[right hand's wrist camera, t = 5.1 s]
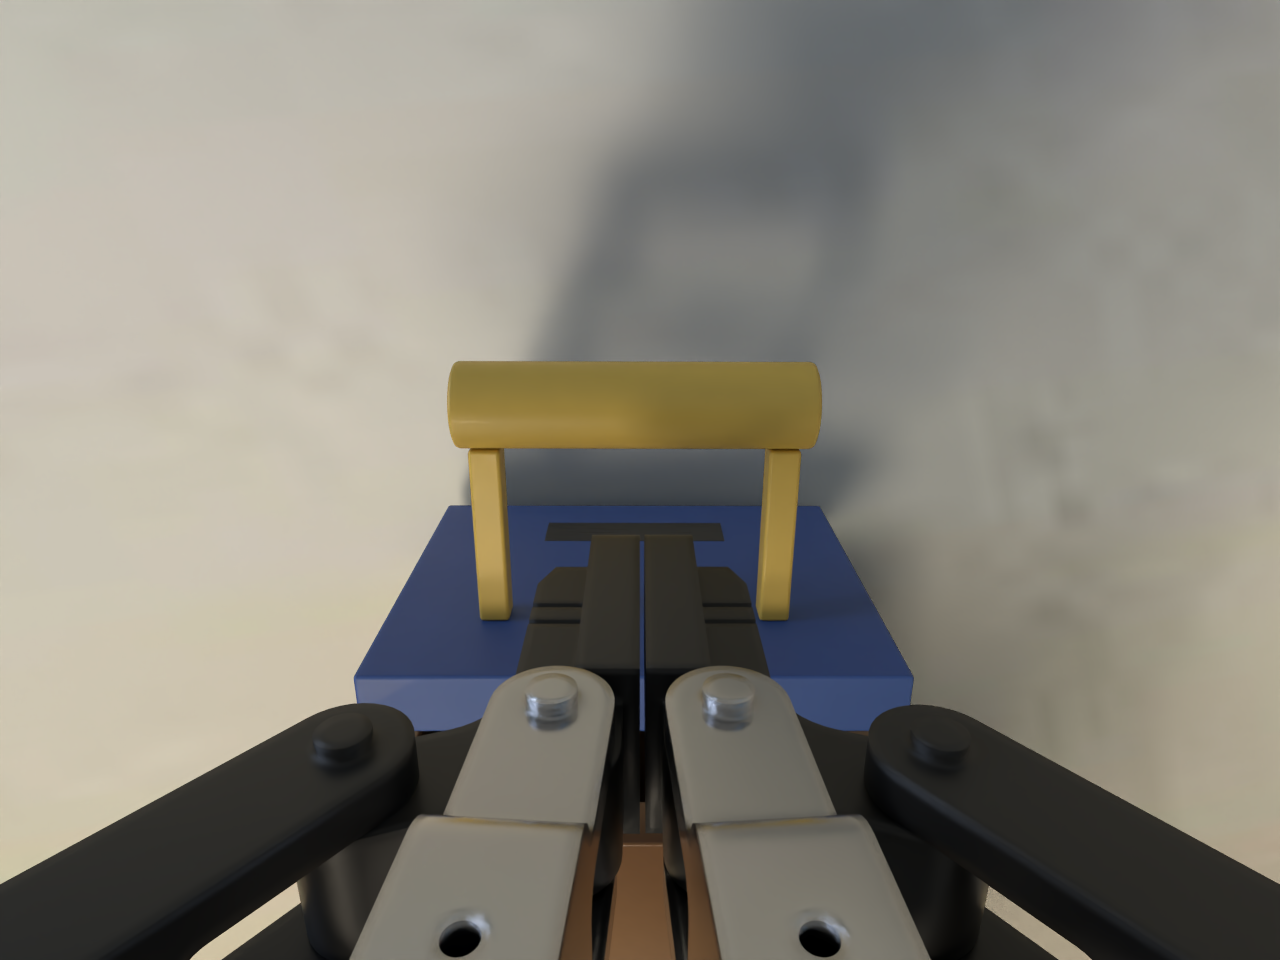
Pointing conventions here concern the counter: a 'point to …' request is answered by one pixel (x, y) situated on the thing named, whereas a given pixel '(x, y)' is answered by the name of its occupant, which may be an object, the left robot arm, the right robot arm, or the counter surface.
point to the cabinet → (639, 895)
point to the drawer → (561, 535)
